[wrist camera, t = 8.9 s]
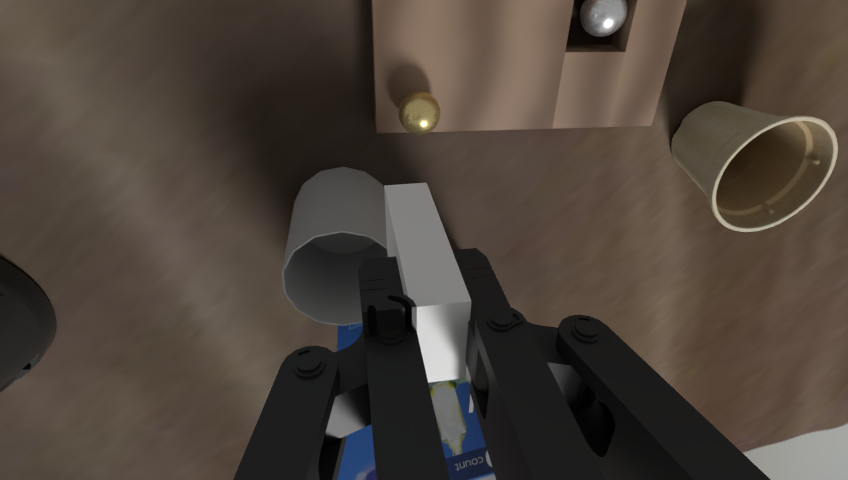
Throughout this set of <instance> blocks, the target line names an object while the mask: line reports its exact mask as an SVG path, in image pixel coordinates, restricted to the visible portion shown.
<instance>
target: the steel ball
mask: <svg viewBox="0 0 848 480" xmlns="http://www.w3.org/2000/svg"><path fill="white" fill-rule="evenodd" d="M627 9H628V7H627V2H626V0H584V2H583V4H582V6H581V10H580V21H581V24H582V26H583V28H584V29H585V31H586V32H588V33H589V34H591V35H593V36H597V37H603V36H608V35H610V34H612V33H614V32H615V31H617V30H618V29H619V28H620V27H621V26H622V24H623V23H624V21H625V19H626V16H627Z"/></svg>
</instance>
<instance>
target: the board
mask: <svg viewBox="0 0 848 480" xmlns="http://www.w3.org/2000/svg"><path fill="white" fill-rule="evenodd" d="M626 2H627V7H628V9H627V16H626V19H625V21H624V23H623V24H622V26H621V27H620V28H619V29H618V30H617V31H615V32H614V33H613V34H612V39H611V43H610V45H567V39H568V33H569V27H570V21H571V15H572V9H573V3H574V0H371V15H372V44H373V74H374V103H375V124H376V132H377V133H409V132H408V131H407V130H406V129H405V128H404V127H403V126H402V125H401V123H400V120H399V116H398V109H399V105H400V103H401V101H402V100H403V98H404V97H405V96H406V95H408V94H410V93H412V92H415V91H424V92H427V93H429V94H431V95H432V96H433V97H434V98H435V99H436V100H437V102H438V104H439V107H440V119H439V122H438V124H437V126H436V127H435V128H434V129H433V130H432V131H430V132H446V131H482V130H518V129H554V128H590V127H626V126H652V122H653V119H654V115H655V112H656V108H657V105H658V101H659V98H660V94H661V90H662V87H663V83H664V80H665V76H666V73H667V69H668V66H669V62H670V59H671V55H672V52H673V48H674V45H675V41H676V38H677V34H678V31H679V27H680V23H681V20H682V16H683V13H684V9H685V6H686V2H687V0H626Z"/></svg>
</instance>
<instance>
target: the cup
mask: <svg viewBox="0 0 848 480" xmlns="http://www.w3.org/2000/svg"><path fill="white" fill-rule="evenodd" d="M384 257H388V253H387V239H386V215H385V191H384V186H383V184H381V183H380V182H379V181H377V180H376V179H375V178H373V177H372V176H371V175H369V174H368V173H367V172H365V171H360V170H356V169H351V168H347V167H339V168H334V169H329V170H323V171H320V172H319V173H317V174H316V175H315V176H313V177H312V178H310V179H309V180H308V181H306V182H305V183H303V185H302V187H301V189H300V191H299V193H298V195H297V198H296V200H295V202H294V207H293V213H292V218H291V224H290V229H289V235H288V240H287V246H286V251H285V257H284V262H283V268H282V279H283V289H284V294H285V295H286V297H287V298H288V299H289V301H290V302H291V303H292V305H293V306H294V307H295V309H296V310H297V311H298V312H300V313H302V314H304V315H305V316H307V317H309V318H311V319H313V320H315V321H317V322H318V323H325V324H333V325H340V326H346V325H351V324H356V323H361V322H362V313H361V301H360V289H359V277H358V269H359V267H360V265H361V263H362V262H363V260H364V259H372V258H384Z"/></svg>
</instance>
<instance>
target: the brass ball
mask: <svg viewBox="0 0 848 480" xmlns="http://www.w3.org/2000/svg"><path fill="white" fill-rule="evenodd" d="M398 116H399V120H400V123H401V125H402V126H403V127H404V128H405V129H406V130H407V131H408V132H410V133H413V134H417V135H422V134H426V133H428V132H430V131H432V130H433V129H434V128H435V127H436V126H437V124H438V122H439V119H440V107H439V104H438V102H437V100H436V99H435V98H434V97H433V96H432V95H431V94H429V93H427V92H424V91H415V92H412V93H410V94H408V95H406V96H405V97H404V98H403V100H402V101H401V103H400V105H399V109H398Z"/></svg>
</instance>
